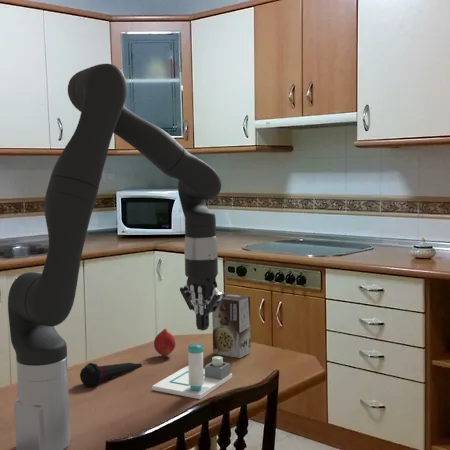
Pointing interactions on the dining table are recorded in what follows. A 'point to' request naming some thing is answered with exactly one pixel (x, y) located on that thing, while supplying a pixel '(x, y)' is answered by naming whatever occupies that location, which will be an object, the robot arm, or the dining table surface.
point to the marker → (195, 366)
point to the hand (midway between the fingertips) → (202, 329)
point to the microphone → (104, 372)
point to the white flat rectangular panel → (187, 384)
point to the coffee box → (232, 326)
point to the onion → (164, 343)
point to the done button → (217, 361)
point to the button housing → (217, 371)
